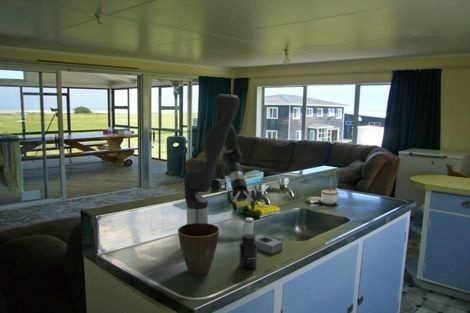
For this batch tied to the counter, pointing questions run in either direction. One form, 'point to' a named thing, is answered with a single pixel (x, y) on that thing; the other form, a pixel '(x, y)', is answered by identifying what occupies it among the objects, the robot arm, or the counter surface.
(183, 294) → the counter surface
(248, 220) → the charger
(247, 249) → the supplement bottle
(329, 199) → the lidded jar
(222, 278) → the counter surface
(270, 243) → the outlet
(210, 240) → the plant pot
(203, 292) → the counter surface
